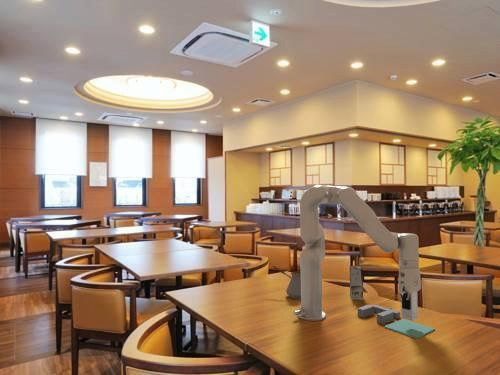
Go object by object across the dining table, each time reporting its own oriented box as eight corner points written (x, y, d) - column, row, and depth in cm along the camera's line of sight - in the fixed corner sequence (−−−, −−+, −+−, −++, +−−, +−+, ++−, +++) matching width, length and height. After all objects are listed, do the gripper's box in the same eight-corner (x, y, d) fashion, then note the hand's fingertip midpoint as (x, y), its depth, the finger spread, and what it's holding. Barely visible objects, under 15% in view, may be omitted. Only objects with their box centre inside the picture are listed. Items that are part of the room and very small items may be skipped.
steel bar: (411, 320, 143) (411, 290, 144) (401, 317, 147) (401, 288, 147) (417, 318, 146) (417, 288, 146) (407, 315, 150) (406, 286, 150)
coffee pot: (311, 296, 193) (310, 268, 193) (301, 301, 183) (301, 272, 184) (277, 289, 205) (277, 263, 205) (266, 294, 196) (266, 267, 196)
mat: (417, 338, 137) (417, 337, 137) (384, 327, 148) (384, 326, 148) (434, 330, 145) (434, 328, 145) (402, 320, 156) (402, 318, 156)
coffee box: (363, 300, 185) (363, 269, 185) (350, 299, 186) (350, 268, 186) (361, 295, 194) (361, 265, 194) (349, 294, 195) (349, 265, 195)
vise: (383, 324, 152) (382, 316, 152) (357, 315, 162) (357, 308, 162) (403, 315, 162) (403, 308, 162) (378, 308, 172) (378, 301, 172)
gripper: (406, 267, 139) (407, 314, 139) (428, 262, 149) (428, 305, 149) (389, 264, 145) (389, 309, 145) (410, 259, 155) (411, 301, 155)
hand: (409, 307), depth 147 cm, fingers closed on steel bar, 4 cm apart
